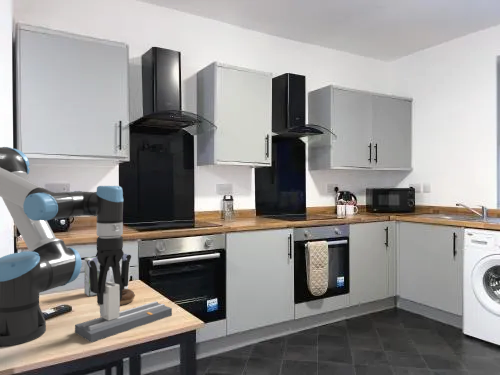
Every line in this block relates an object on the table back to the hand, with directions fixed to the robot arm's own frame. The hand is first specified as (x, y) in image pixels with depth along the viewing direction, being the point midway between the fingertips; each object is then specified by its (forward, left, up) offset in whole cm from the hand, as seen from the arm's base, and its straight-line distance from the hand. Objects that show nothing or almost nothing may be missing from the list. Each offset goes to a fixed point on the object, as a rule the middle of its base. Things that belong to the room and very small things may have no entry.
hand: (109, 312), depth 113 cm
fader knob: (0, 0, -2) cm, 2 cm away
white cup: (-35, +24, -5) cm, 43 cm away
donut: (-21, +16, -5) cm, 27 cm away
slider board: (0, +6, -5) cm, 8 cm away
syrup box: (-37, +14, -5) cm, 40 cm away
